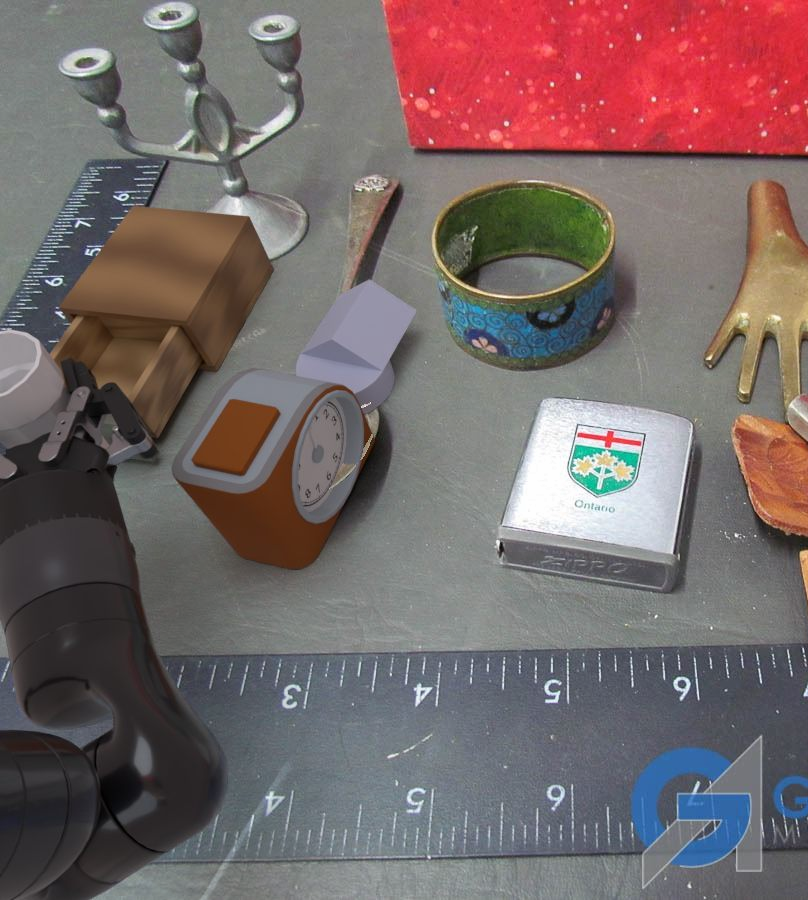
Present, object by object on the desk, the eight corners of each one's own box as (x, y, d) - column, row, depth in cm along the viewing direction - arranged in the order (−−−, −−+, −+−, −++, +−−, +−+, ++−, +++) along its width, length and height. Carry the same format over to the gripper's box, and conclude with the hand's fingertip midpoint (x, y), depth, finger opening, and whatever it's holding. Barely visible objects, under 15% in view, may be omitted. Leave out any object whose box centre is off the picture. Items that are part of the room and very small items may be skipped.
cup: (78, 508, 61) (-15, 417, 52) (13, 479, 63) (-88, 386, 54) (140, 442, 65) (63, 346, 56) (77, 416, 66) (-8, 319, 57)
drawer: (148, 472, 78) (117, 436, 73) (29, 457, 79) (-9, 421, 74) (217, 349, 87) (194, 310, 82) (109, 337, 88) (80, 298, 83)
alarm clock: (313, 575, 72) (256, 494, 61) (226, 555, 73) (155, 472, 62) (379, 441, 80) (339, 348, 69) (299, 425, 82) (248, 331, 70)
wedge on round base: (347, 317, 90) (290, 408, 83) (329, 271, 84) (266, 364, 77) (423, 332, 88) (372, 426, 81) (410, 287, 83) (353, 383, 76)
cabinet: (217, 371, 86) (185, 321, 80) (98, 358, 87) (57, 307, 81) (274, 268, 95) (249, 216, 88) (164, 258, 96) (132, 205, 90)
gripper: (152, 478, 50) (98, 310, 59) (-107, 590, 46) (-124, 392, 55) (204, 538, 56) (148, 378, 65) (-21, 641, 52) (-48, 456, 61)
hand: (24, 385), depth 60 cm, fingers closed on cup, 6 cm apart
